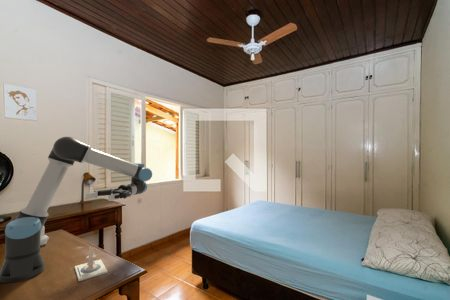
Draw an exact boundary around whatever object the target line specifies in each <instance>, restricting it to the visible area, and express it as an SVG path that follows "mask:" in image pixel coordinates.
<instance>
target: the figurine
mask: <svg viewBox="0 0 450 300" xmlns="http://www.w3.org/2000/svg"><path fill="white" fill-rule="evenodd" d="M45 229H46V228H45V225H44V226H43V228H42V231H41V235H40V246H44V245H46V244H47V242H48V241H49V239H50V237H49V236H48V235H47V234H45Z"/></svg>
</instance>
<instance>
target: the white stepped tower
mask: <svg viewBox="0 0 450 300" xmlns="http://www.w3.org/2000/svg"><path fill="white" fill-rule="evenodd" d="M96 257H97V255H96V254H94V246H93V245H91V246H89V250H88V255H87V256H86V257H85V259H87V262H86V263H87V265H88V266H86V267H85V268H84V270H85V271H92V270H94V269H96V268H97V265H96V264H95V262H94V261H95V259H94V258H96Z"/></svg>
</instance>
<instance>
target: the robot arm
mask: <svg viewBox="0 0 450 300" xmlns="http://www.w3.org/2000/svg"><path fill="white" fill-rule="evenodd" d="M47 160H48V161H49V162H48V164H47V166H46V168H45V170H44V172H43V174H42V176H41V178H40V180H39V182H37V183H38V184H37V186H36V187H35V190H34V191H33V193H32V195H31V197H30V200H28V203H27V205H26V207H24V208H21V209H20V210H19V212H18V214H17V216H16V218H15V219H14V220H11V221H10V222H8V223H7V224H6V226H5V230H4V235H5V237H4V238H5V240H4V241H5V242H4V261H3V263H2V266H1V268H0V283H2V284H8V283H9V284H10V283H18V282H22V281H26V280H28V279H31V278H34V277H35V276H38V275H39V274H41V273H42V272H43V271H44V270H45V261H44V259H43V257H42V254H41V245H40V235H41V231H42V228H43V226H44V227H45V223H46V222H47V219H48V217H49V216H50V215H49V212H48V210H49V207H50V205H51V203H52V201H53V199H54V197H55V196H56V194H57V191H58V189H59V187H60V185H61V183H62V181H63V179H64V176H65V175H66V173H67V171H68V169H69V168H70V167H73V166H74V164H75V162H78V163H80V164H83V163H87V164H90V165H93V166H97V167H100V168H102V169H106V170H108V171H111V172H115V173H118V174H121V175H124V176H127V177H130V179H131V180H130V182H129V183H125V184H120V185H119V186H118V187H117V188H110V189H100V190H99V189H98V190H93V191H92V192H87V193H85V199H86V200H88V199H94V198H98V197H102V196H104V197H105V196H107V201H108V202H111V201H115V200H119V199H127V198H131V197H132V196H135V195H140V194H143V193H145V192H146V191H147V189H148V184H147V183H146V182H148V181H150V180H151V179H152V178H153V172H152V170H151V169H150V168H148V167H146V166H145V163H143V162H131V161H128V160H125V159H122V158H119V157H117V156H114V155H111V154H109V153H106V152H103V151H100V150H97V149H94V148H92V147H91V145H89V144H86V143H84V142H82V141H80V140H78V139H77V138H75V137H71V136H63V137H60V138H58V139H57V140H55V142H54V143H53V147H52V149H51V150H50V152H49V155H48V156H47Z"/></svg>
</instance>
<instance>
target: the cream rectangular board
mask: <svg viewBox="0 0 450 300" xmlns="http://www.w3.org/2000/svg"><path fill="white" fill-rule="evenodd" d="M94 262H95V264H96V265H97V268H96V269H94V270H92V271H85V270H84V268H85V267H86V266H88V265H87V263H88V262H86V263H81V264H77V265H74V271H75V274H76V277H77V280H78V282H81V281H85V280H88V279H91V278H95V277H99V276H101V275H104V274H108V272H109V271H108V269H107V267H106V265H105V264H104V262H103V261H102V259H96V260H94Z"/></svg>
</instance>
